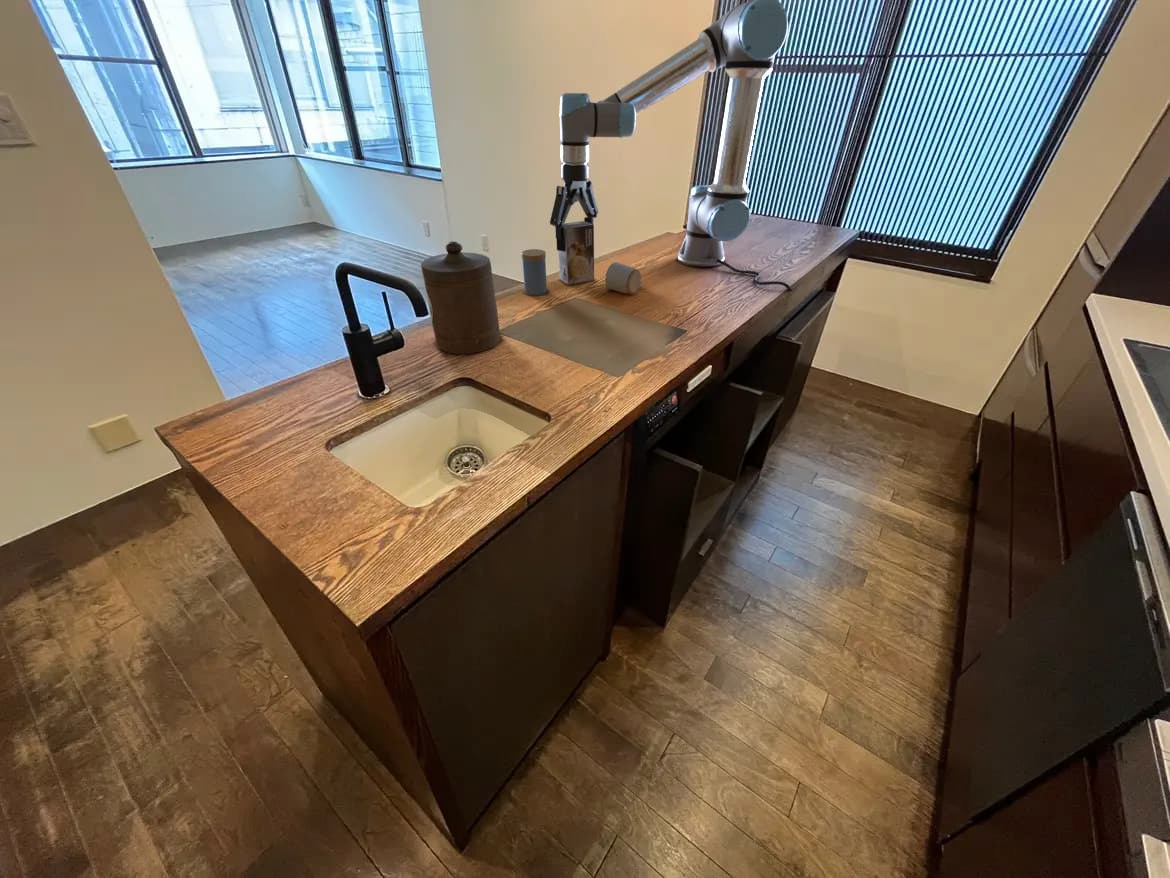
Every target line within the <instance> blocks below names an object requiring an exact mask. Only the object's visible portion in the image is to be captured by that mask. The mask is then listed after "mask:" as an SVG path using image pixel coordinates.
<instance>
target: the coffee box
mask: <svg viewBox="0 0 1170 878" xmlns="http://www.w3.org/2000/svg"><path fill="white" fill-rule="evenodd" d="M563 226H564V227H565V228H566V251H565V252H564V251H559V250H557V251H558V252H557V253H558V268H559V269H558V270H559V271H558V272H559V280H560V281H562V282H563V283H565V284H566V285H569V286H570V285H574V284H581V283H585V282H590V281H595V224H594V223H593V224H590V223H588V222H585V221H584V220H581V221H573V222H565V223H564V225H563Z"/></svg>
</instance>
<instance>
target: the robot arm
mask: <svg viewBox="0 0 1170 878" xmlns="http://www.w3.org/2000/svg"><path fill="white" fill-rule="evenodd" d="M786 11H787V10H786V9H785V7H784V6H783V4H782V3H781V2H780V1H779V0H750V1H747V2H745V3H741V4H740V3H739V4H737V5H736V6H734V7H732V8H731V9H730V10H728V11H727V12H726V13H724V14H723V15H722V16H721V17H720V18H718V19H717V20H716V21H715V22H713V23H712V24H710V26H708V27H707V28H705V29H704V30H701V32H699V34H698V38H697V39H696V40H695V41H693V42H691V43H690V44H688V45H687V46H685V47H683V48H681V50H679V51H678V52H676V53H674V54H673V55H671V56H670V57H667V59H665V60H664V61H662V62H660V63H659V64H657V65H656V66H654V67H653V68H651V69H650V70H648V71H646V72H645V73H643V74H642V75H640V76H639V77H637V78H635V79H634V80H633V81H631V82H629V83H628V84H626V85H624V86H623V87H621V88H620V89H619V90H617V91H615V92H614V93H613V94H611V95H610V96H607V97H606V98H605V99H603V100H599V101H597V102H592V101H591V99H590V94H589V93H586V92H564V93H562V94H561V96H560V99H559V100H560V101H559V130H560V133H559V134H560V161H561V163H562V164H561V166H560V178H561V180H563V181H564V183H563V186H562V185H557V186H556V191H555V197H554V202H553V208H552V211H551V216H550V220H549V224H550V225H551V226H553V227H554V228H555V239H556V251H558V250H559V251H564V252H565V251H566V228H565V227H564V226H563V225H564V223H566V220H567V218H568V215H569V214H570V213H569V212H570V210H571V207H572V206H573V205H574V204H575V203H577V202H578V203H579V204H580V206H581V208H582V211H583V212H584V214H585V217H584V218H583V219H584V220H583V221H585V222H588V223H590V224H593V225H594V222H595V221H594V219H597V218H598V214H599V208H598V205H597V201H596V196H595V192H594V186H593V184H594V182H593V181H592V180H589V177H590V165H589V164H588V163H589V162H590V138H620V139H622V138H631V137H632V136H633V135H634V133H635V131H636V124H637V116H638V115H639V114H640V113H642V112H643V111H645V110H647V109H649V108H650V107H652V106H654V105H655V104H657V103H658V102H660V101H661V100H663V99H665V98H666V97H668V96H669V95H671V94H673V93H674V92H676V91H678V90H679V89H680V88H682V87H684V86H686V85H687V84H689V83H690V82H692V81H694V80H695V79H697V78H698V77H700V76H701V75H703V74H705V73H707V72H710V73H714V72H716V71H717V70H719V69H721V68H722V67H725V68H724V72H725V73H726V74H727V76H728V78H729V80H728V87H727V93H726V100H725V105H724V106H725V107H724V114H723V120H722V125H721V126H722V127H721V134H720V140H719V147H718V154H717V159H716V166H715V174H714V179H713V182H712V183H711V184H709V185H707V184H706V185H695V186H693V187H692V188H691V191H690V196H689V199H688V200H689V204H688V213H687V223H686V232H685V237H684V240H683V242H682V244H681V247H680V249H679V252H678V255H677V261H678V262H679V263H681V264H683V265H685V266H690V267H696V268H713V267H717V266H721V265H723V266H725V267H726V268H727V269H729V270H731V271H732V272H735V273H739V274H746V275H747V274H748V275H755V276H756V277H754V279H753V283H755V284H757V285H760V286H769V285H770V286H771V285H780V286H783V287H785V288H786V289H787V290H788V291H793V289H792V287H791V286H790V285H789V284H788V283H786V282H784V281H778V280H773V281H759V279H760V278H761V273H760V272H758V271H755V270H743V269H738V268H735V267H733V265H731V264H729V263H727V262H725V251H724V244H723V242H731V241H733V240H736V239H738V238H739V237H740V236H741V235H742V234H743V233H745V231H746V229H747V228H748V226H749V224H750V221H751V211H750V208H749V206H748V203H747V202H748V197H749V192H750V190H749V188H748V187H747V185H746V178H747V173H748V167H749V162H750V158H751V157H750V156H751V152H752V146H753V142H754V141H753V140H754V135H755V129H756V125H757V120H758V112H759V108H760V103H761V97H762V92H763V86H764V81H765V79H766V77H767V76H768V75H770V73H771V72H772V71H773V67H774V62H775V56H776V54H777V53H778V52H779V51H780V49H781V48H782V47H783V45H784V43H785V41H786V39H787V34H788V29H789V22H788V15H787V12H786Z"/></svg>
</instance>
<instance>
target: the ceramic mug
mask: <svg viewBox="0 0 1170 878" xmlns="http://www.w3.org/2000/svg"><path fill="white" fill-rule="evenodd" d="M604 278H605V280H604V281H605V282H604V283H605V286H606V288H607V289H608V290H610V291H613V292H618V293H622V294H626V295H633V294H635V293H636V292H637V291H638V290H639V288H641V286H642V283H643V282H642V273H641V271H640V270H639V269H637V268H635V267H633V266H630V265H627V264H624V263H621V262H618V261H614V262H612V263H611V264H610V265H609V266H608V268H607V269H606V273H605V277H604Z"/></svg>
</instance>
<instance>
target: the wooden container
mask: <svg viewBox="0 0 1170 878" xmlns="http://www.w3.org/2000/svg"><path fill="white" fill-rule="evenodd" d="M445 250H446V252H447V253H443V254H442V253H441V254H436V255H433V256H430V257H428V258H426V259H424V260H423V261H421V263H420V268H421V274H422V278H423V284H424V288H425V289H424V290H425V294H426V300H427V304H428V311H429V317H430V322H431V326H432V330H433V335H434V339H435V344H436V346H437V347H438V348H439V349H440V350H442V351H443V352H446V353H449V354H457V355H459V354H460V355H465V354H475V353H479V352H484V351H486V350H489V349H491V348H493V347H495V346H496V345H497V344H498V343H499V342H500V340H501V329H500V323H499V322H500V319H499V314H498V306H497V301H496V292H495V287H494V280H493V271H492V270H493V269H492V263H491V259H490V257H488V256H487V255H485V254H482V253H476V252H462V250H463V246H462V244H461V243H459V242H458V241H448V243H447V244H446V245H445Z"/></svg>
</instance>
